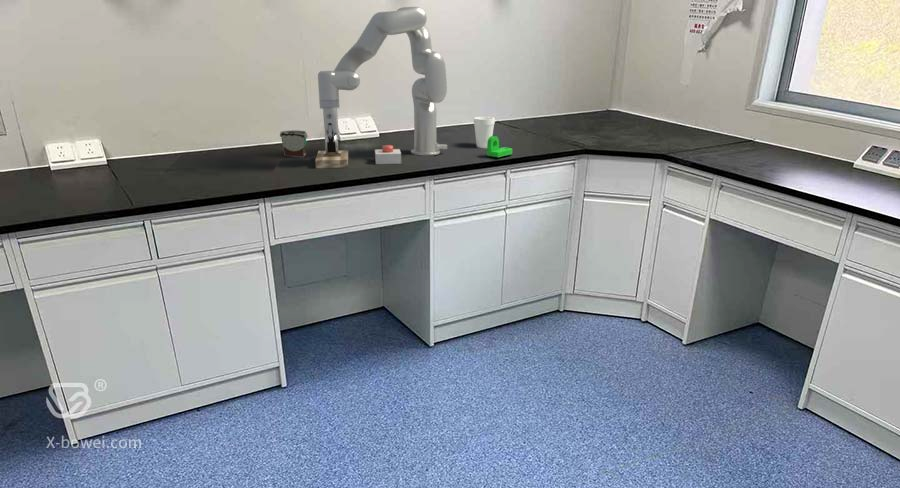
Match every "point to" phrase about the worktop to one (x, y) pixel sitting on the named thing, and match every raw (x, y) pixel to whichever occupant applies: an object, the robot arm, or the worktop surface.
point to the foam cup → (483, 130)
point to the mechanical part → (496, 148)
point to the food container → (294, 143)
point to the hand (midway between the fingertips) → (332, 150)
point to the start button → (387, 148)
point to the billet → (335, 142)
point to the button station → (388, 157)
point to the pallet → (332, 160)
